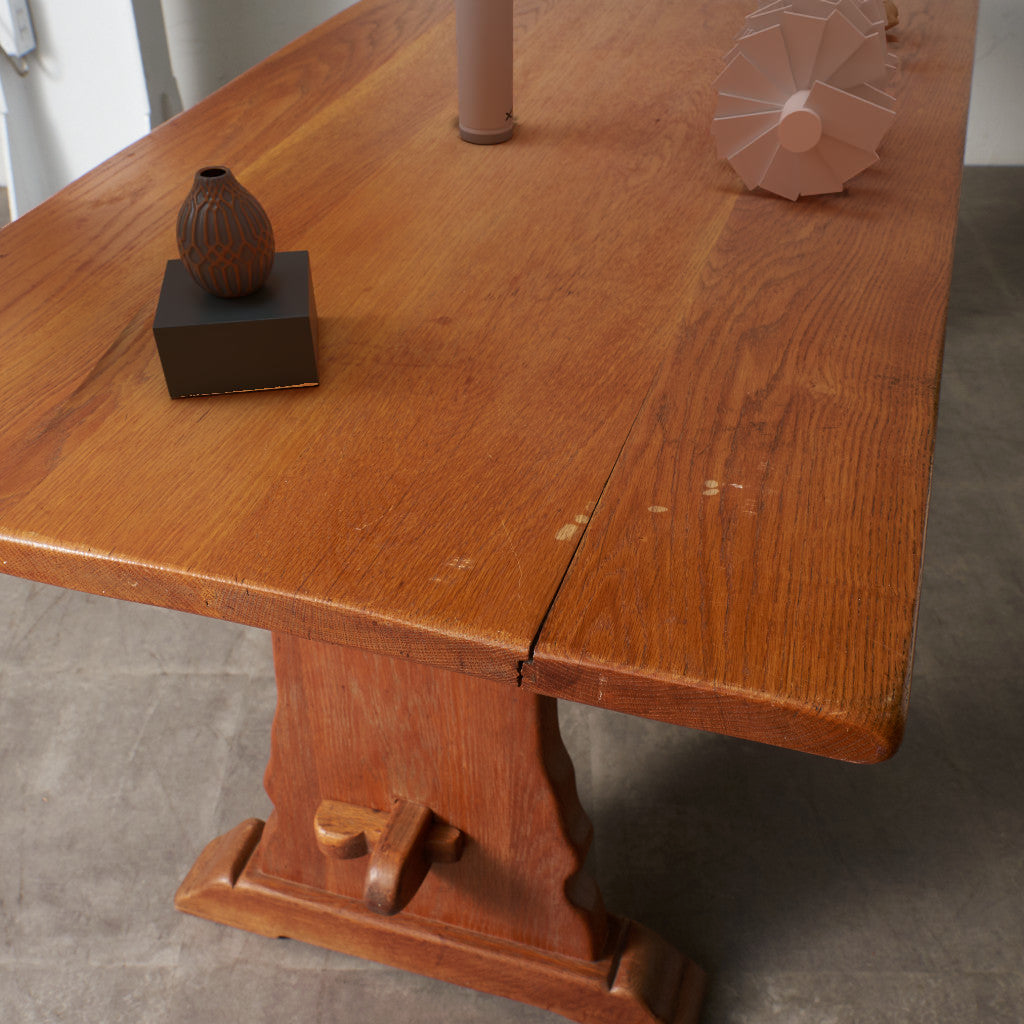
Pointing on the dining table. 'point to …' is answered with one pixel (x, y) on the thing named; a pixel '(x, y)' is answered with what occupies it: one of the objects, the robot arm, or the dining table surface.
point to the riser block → (238, 331)
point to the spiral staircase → (805, 95)
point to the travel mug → (485, 70)
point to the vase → (224, 235)
